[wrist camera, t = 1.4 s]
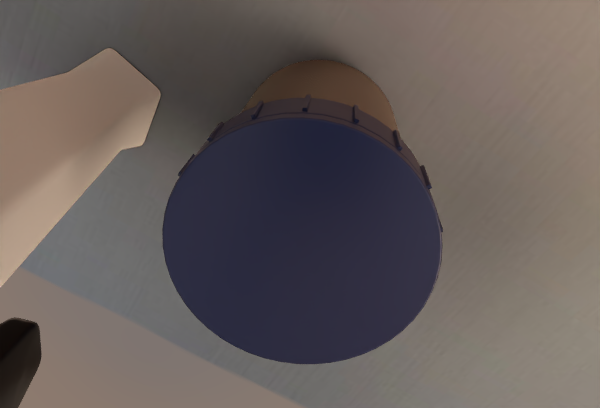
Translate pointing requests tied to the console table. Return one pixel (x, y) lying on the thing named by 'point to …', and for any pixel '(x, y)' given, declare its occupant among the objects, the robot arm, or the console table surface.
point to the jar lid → (303, 232)
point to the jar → (326, 88)
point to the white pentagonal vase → (64, 144)
